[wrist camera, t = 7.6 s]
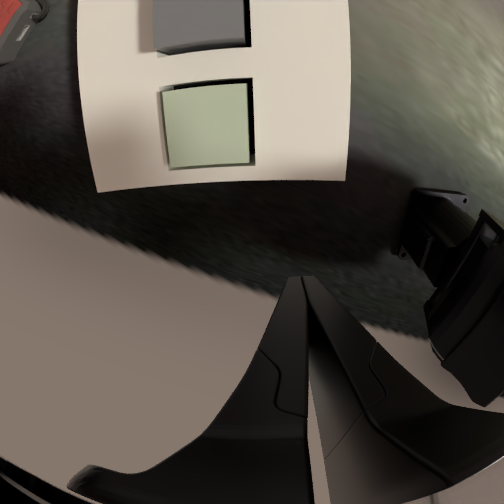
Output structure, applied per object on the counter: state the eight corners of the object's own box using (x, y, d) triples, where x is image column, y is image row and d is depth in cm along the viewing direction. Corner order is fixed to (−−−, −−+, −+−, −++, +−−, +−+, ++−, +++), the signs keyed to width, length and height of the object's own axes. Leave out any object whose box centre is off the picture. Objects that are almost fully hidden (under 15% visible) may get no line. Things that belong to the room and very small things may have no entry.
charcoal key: (243, -14, 11) (240, -34, 8) (245, 46, 13) (243, 37, 10) (171, -5, 11) (153, -21, 8) (172, 54, 13) (153, 48, 10)
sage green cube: (247, 84, 15) (245, 83, 13) (250, 149, 18) (249, 162, 15) (178, 90, 16) (162, 91, 13) (184, 153, 18) (170, 167, 15)
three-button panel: (322, -81, 7) (331, -99, 4) (332, 166, 18) (345, 180, 16) (105, -56, 7) (87, -67, 5) (115, 177, 19) (97, 192, 16)
